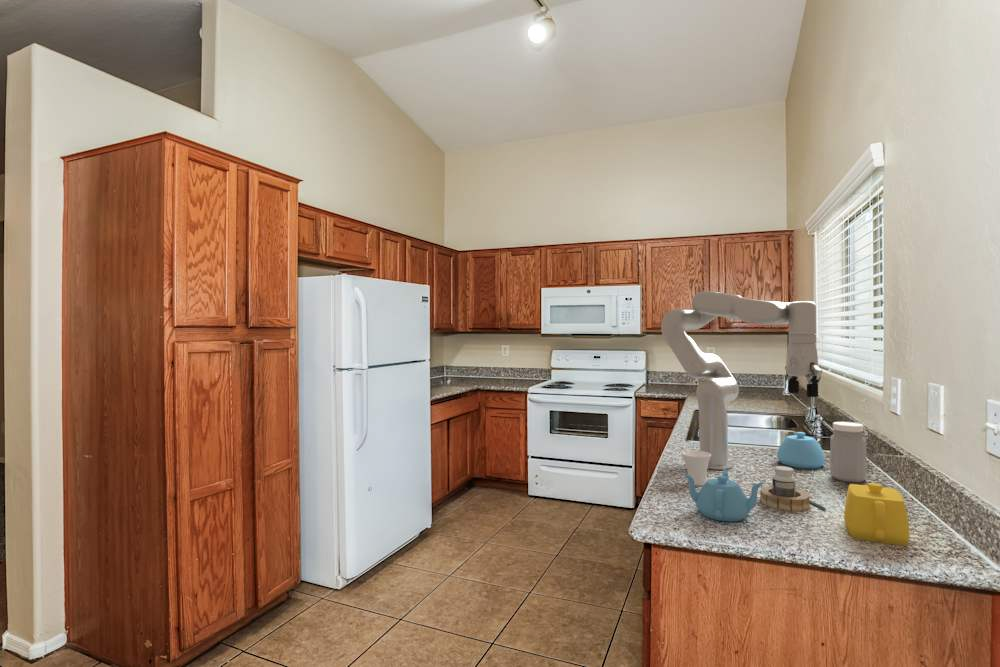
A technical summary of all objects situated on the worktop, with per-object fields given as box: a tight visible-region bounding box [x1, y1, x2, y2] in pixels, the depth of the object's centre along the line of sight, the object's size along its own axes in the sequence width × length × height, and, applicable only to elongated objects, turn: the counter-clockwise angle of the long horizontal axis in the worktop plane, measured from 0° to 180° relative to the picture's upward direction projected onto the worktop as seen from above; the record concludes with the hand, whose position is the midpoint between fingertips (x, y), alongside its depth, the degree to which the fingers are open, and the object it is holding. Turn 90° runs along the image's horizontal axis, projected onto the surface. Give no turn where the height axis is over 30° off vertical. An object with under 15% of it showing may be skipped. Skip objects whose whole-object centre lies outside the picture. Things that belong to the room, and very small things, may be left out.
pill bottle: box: [772, 465, 797, 497], centre depth 147 cm, size 6×6×10 cm
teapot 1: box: [682, 469, 765, 523], centre depth 139 cm, size 15×15×10 cm
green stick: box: [809, 499, 827, 511], centre depth 147 cm, size 13×1×1 cm, turn 2°
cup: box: [681, 449, 711, 487], centre depth 166 cm, size 9×9×10 cm
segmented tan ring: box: [759, 485, 810, 512], centre depth 147 cm, size 12×12×3 cm
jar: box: [829, 421, 868, 483], centre depth 170 cm, size 10×10×18 cm
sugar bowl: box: [776, 431, 826, 470], centre depth 189 cm, size 15×15×12 cm
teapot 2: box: [843, 482, 910, 547], centre depth 126 cm, size 20×12×12 cm, turn 151°
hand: (802, 394), depth 164 cm, fingers open, 9 cm apart
